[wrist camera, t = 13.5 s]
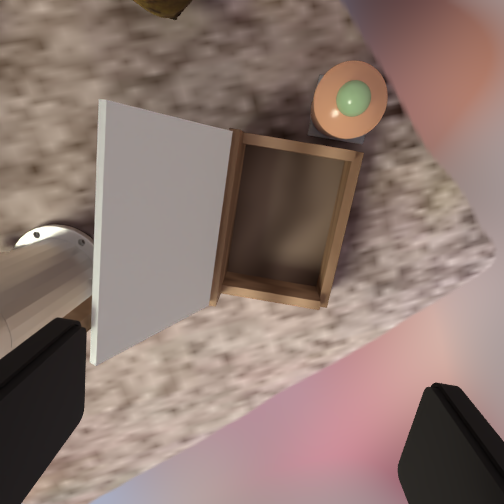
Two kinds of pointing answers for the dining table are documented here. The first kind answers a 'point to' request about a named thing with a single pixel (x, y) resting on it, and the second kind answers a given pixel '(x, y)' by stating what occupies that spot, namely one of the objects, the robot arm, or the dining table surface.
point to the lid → (153, 223)
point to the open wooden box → (278, 222)
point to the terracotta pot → (349, 100)
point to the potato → (164, 7)
